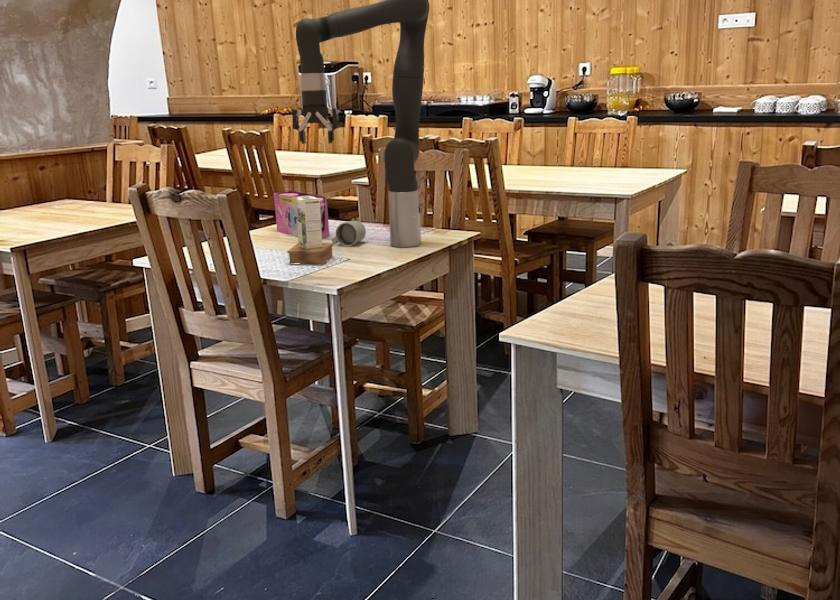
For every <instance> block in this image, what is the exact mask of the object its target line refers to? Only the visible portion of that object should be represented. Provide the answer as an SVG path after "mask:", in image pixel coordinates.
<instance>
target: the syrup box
mask: <svg viewBox="0 0 840 600" xmlns="http://www.w3.org/2000/svg"><path fill="white" fill-rule="evenodd" d="M297 217H298V234H299V237H298V243H299V246H300V247H302V248H303V249H313V248H320V247H322V243H323V238H322V231H321V213H320V199H318V198H316V197H312V196H306V197H299V198H297Z"/></svg>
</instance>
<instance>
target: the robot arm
mask: <svg viewBox="0 0 840 600" xmlns="http://www.w3.org/2000/svg"><path fill="white" fill-rule="evenodd" d="M430 8H431V7H430V2H429V0H381V1H378V2H375V3H371V4H367V5H363V6H358V7H357V6H356V7H352V8H347V9H342V10H339V11H335V12H332V13H330V14H328V15H327V16H322V17H319V18H318V17H317V18H307V17H306V18H303V19H301V20H299V21H298V23H296V27H295V40H296V45H297V50H298V55H299V62H300V63H299V64H300V65H299V66H300V67H299V68H300V90H301V91H300V92H301V103H302V104H301V105H302V108H301V109H298V108H295V109H294V108H293V109H292V111H291V113H292V115H291V117H292V119H291V120H292V130H295V131H298V137H299V142H300V143H301V144H302V145H304V144H306V143H307V141H306V140H307V139H306V136H307V135H306V127H307V126H308V125H309V124H315V123H316V124H321V123H322V124H323V126H325V127H326V129H327V130H328V131H327V138H328V144H333V142H334V141H335V130H337V129H339V128H340V127H341V125H340V117H339V109H338V107H333V108H329V107H328V97H327V95H328V94H327V83H326V82H327V81H326V76H325V63H324V57H323V54H322V53H321V45H320V43H324V42H327V41H329V40H333V39H335V38H342V37H346V36H351V35H354V34H358V33H362V32H365V31H367V30H370V29H373V28H377V27H380V26H385V25H388V24H397V23H399V27H400V28H399V29H400V30H399V31H400V32H399V33H400V34H399V42H398V48H397V52H396V55H395V60H394V65H393V74H392V81H391V82H392V84H391V85H392V86H391V88H392V89H391V91H392V93H391V95H392V103H393V108H394V111H395V128H394V129H395V130H394V136H393V139H391V140H390V141H389V142H388V143H387V144H386V146H385V149H384V155H383V156H384V157H383V158H384V171H385V173H384V174H385V180H386V183H387V189H388V190H387V191H388V193H387V194H388V210H389V211H388V213H389V217H388V219H389V235H390V237H389V239H390V242H389V243H390V246H392V247H396V248H410V247H419V246H420V245H421V243H422V241H421V239H422V237H421V234H422V233H421V213H420V212H419V211H420V209H419V185H418V184H419V182H418V180H417V178H416V175H415V173H416V172H415V163H416V162H417V160H418V159H419V155H420V118H421V109H422V98H423V90H424V89H423V88H424V78H425V77H424V76H425V37H426V30H427V25H428V18H429V14H430V13H429V12H430ZM329 114H330V116H331V117H332V123H333V124H332V123H331V121H330V120H329V118H328V117H327V116H328V115H329ZM301 115H302V117H304V118H303V120H302V122H301V124H300V122H299V121H300V119H299V118H300V116H301ZM299 124H300V125H299ZM420 242H421V243H420Z"/></svg>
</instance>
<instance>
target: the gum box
mask: <svg viewBox="0 0 840 600" xmlns="http://www.w3.org/2000/svg"><path fill="white" fill-rule="evenodd" d="M306 196H312V197H316V198H318V199H320V213H321V231H322V239H324V238H323V237H325V238H329V237H330V226H329V212H328V202H327V201H328V199H327V196H323V195H318V194H312V193H307V192H301V191H295V190H287V191H280V192H274V193H273V199H274V207H275V208H274V209H275V210H274V211H275V221H276V232H278V233H279V232H280V233H283V234H287V235H289V234H290V236H293V235H294V237H298V238H299V234H298V217H297V198H299V197H306Z"/></svg>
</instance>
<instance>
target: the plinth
mask: <svg viewBox="0 0 840 600" xmlns="http://www.w3.org/2000/svg"><path fill="white" fill-rule="evenodd" d="M334 244H335V243H334ZM334 244H333V242H322V247H320V248H313V249H303V248H302V247H300V246H299V242H298V243H296V244H295V245H293V246H292V247H291V248H289V249H288V250H287V251H286V253H287V254H289V255H288V256H289V264H290V263H300V264H299V265H316V264H323V265H325V264H324V263H325V262H326V261H327V260H328V261H329V260H330V259H331V258H333V257H332V256H333V246H334ZM328 261H327V262H328ZM327 262H326V263H327Z"/></svg>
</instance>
